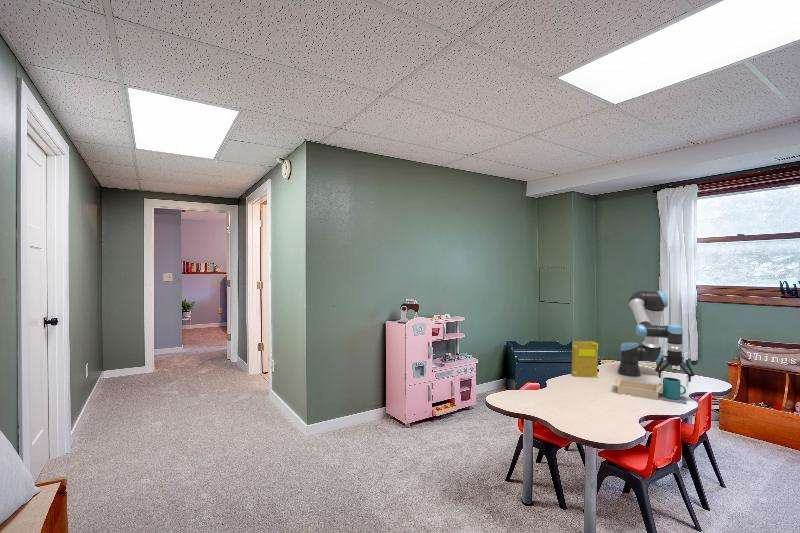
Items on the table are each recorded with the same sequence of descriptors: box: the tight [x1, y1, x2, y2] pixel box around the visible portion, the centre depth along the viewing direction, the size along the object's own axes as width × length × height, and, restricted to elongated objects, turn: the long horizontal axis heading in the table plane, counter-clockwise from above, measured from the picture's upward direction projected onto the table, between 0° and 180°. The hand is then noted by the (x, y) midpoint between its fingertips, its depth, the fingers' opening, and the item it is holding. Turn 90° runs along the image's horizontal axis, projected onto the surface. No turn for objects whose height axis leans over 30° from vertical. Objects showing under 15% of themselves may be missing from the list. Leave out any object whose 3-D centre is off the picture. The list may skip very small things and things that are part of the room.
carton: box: [613, 374, 663, 401], centre depth 255 cm, size 18×26×8 cm
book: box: [571, 340, 599, 379], centre depth 294 cm, size 17×7×25 cm, turn 84°
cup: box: [662, 376, 687, 400], centre depth 245 cm, size 9×12×11 cm
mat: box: [661, 392, 688, 405], centre depth 245 cm, size 15×12×1 cm
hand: (674, 385), depth 245 cm, fingers open, 13 cm apart
